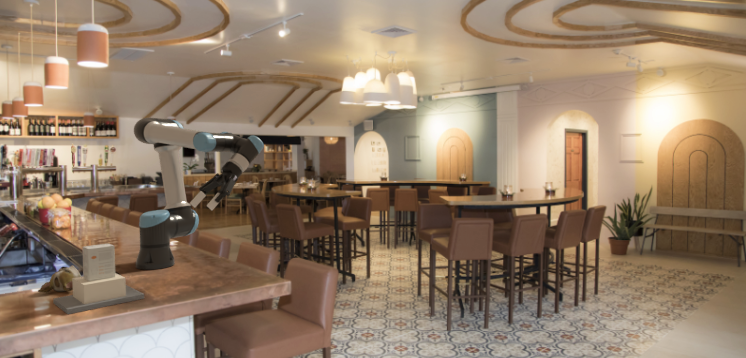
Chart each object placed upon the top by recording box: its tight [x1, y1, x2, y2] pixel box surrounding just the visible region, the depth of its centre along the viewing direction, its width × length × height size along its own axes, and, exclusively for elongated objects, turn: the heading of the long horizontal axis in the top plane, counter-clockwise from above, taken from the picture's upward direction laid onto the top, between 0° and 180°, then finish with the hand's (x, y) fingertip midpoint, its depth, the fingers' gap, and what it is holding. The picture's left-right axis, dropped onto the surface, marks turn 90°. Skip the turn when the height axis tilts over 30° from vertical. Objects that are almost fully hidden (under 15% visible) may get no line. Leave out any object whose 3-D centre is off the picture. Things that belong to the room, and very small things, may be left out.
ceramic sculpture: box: [37, 265, 82, 293], centre depth 167 cm, size 11×9×15 cm
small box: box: [82, 242, 116, 281], centre depth 154 cm, size 8×6×10 cm
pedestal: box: [52, 272, 145, 315], centre depth 154 cm, size 16×22×8 cm
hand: (200, 206), depth 182 cm, fingers open, 13 cm apart
